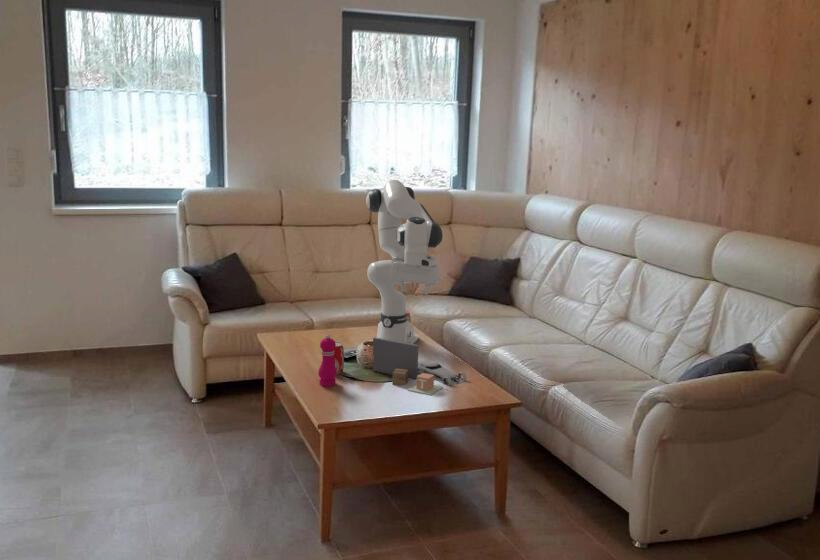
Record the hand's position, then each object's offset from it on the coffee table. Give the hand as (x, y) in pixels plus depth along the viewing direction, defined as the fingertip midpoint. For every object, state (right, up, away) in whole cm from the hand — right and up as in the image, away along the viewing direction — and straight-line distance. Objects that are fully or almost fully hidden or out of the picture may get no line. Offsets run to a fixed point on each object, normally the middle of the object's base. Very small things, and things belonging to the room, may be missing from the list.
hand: (414, 293), depth 307 cm
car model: (+9, -34, +7) cm, 36 cm away
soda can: (-32, -33, +8) cm, 46 cm away
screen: (-7, -33, +8) cm, 35 cm away
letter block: (+4, -37, -9) cm, 38 cm away
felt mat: (+4, -37, -9) cm, 38 cm away
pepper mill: (-34, -35, -6) cm, 49 cm away
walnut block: (-6, -35, -3) cm, 36 cm away
